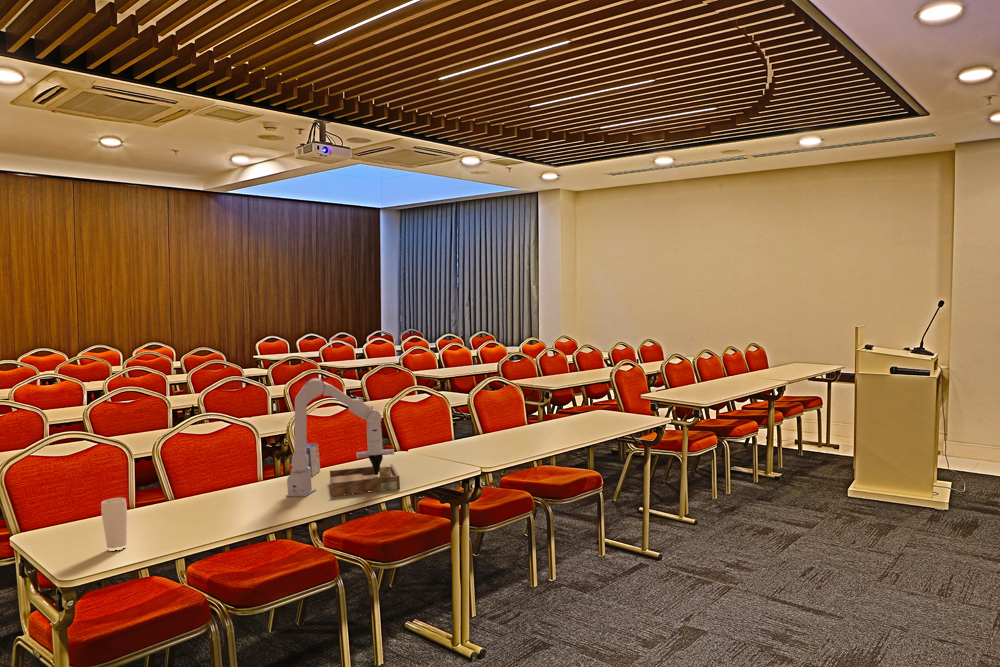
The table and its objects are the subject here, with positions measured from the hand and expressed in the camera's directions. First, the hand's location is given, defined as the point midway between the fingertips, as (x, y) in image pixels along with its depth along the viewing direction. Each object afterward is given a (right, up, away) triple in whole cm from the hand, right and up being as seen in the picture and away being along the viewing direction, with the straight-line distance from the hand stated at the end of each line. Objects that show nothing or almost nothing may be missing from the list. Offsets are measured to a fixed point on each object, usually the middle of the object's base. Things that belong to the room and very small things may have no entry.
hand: (376, 474), depth 284 cm
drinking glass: (-68, -10, -65) cm, 94 cm away
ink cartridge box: (-32, -5, +25) cm, 41 cm away
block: (+3, -1, +1) cm, 4 cm away
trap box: (-5, -4, -1) cm, 6 cm away
